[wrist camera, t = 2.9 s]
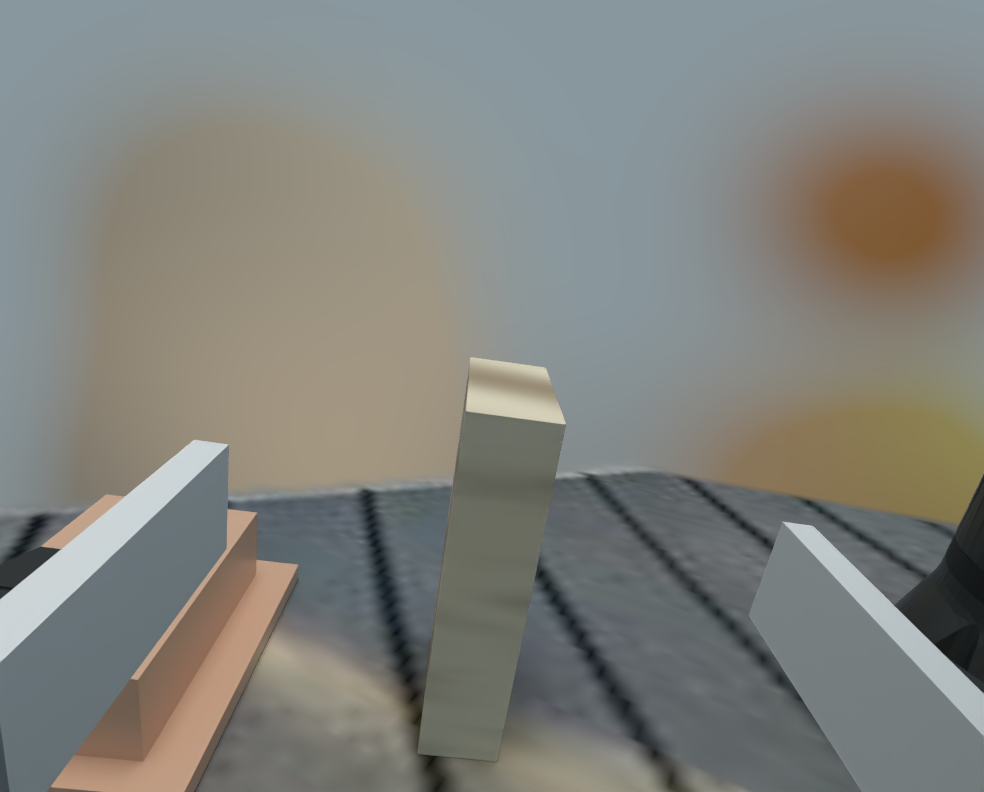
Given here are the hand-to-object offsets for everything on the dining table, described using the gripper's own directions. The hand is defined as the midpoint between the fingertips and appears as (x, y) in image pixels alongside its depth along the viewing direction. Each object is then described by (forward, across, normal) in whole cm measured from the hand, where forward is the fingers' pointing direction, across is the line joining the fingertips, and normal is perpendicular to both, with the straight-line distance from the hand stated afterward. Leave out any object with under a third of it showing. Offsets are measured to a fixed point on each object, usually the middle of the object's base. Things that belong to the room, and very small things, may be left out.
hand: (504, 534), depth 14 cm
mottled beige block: (+10, +1, -16) cm, 19 cm away
